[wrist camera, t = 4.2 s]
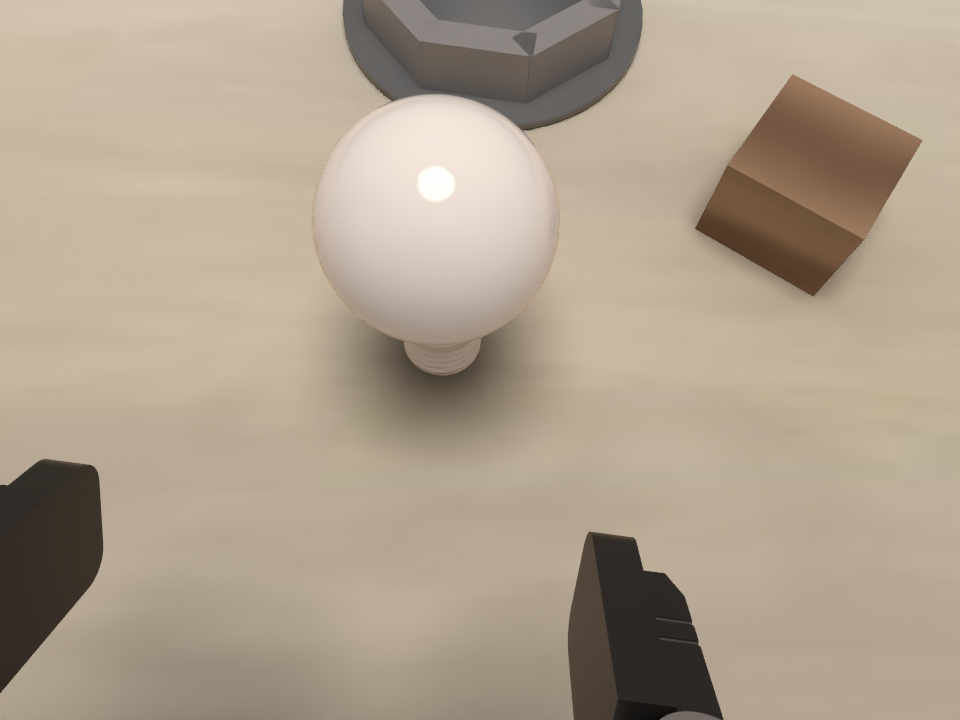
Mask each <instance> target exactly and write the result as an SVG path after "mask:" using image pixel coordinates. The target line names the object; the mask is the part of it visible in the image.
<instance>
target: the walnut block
mask: <svg viewBox="0 0 960 720" xmlns="http://www.w3.org/2000/svg"><path fill="white" fill-rule="evenodd" d="M921 142H922V140H921V139H919V138H917V137H915V136H913V135H911V134H909V133H907V132H905V131H903V130H901V129H899V128H897V127H895V126H893V125H891V124H890V123H888V122H886V121H884V120H882V119H880V118H878V117H876V116H874V115H872V114H870V113H868V112H866V111H864V110H862V109H860V108H858V107H856V106H854V105H852V104H850V103H848V102H846V101H844V100H842V99H840V98H838V97H836V96H834V95H832V94H830V93H828V92H826V91H824V90H822V89H820V88H818V87H816V86H814V85H812V84H810V83H808V82H806V81H805V80H803V79H801V78H799V77H797V76H795V75H793V74H792V76H791V77H790V78H789V80H788V81H787V83H786V84H785V85H784V87H783V88H782V90H781V91H780V92H779V94H778V95H777V97H776V98H775V99H774V101H773V102H772V104H771V105H770V106H769V108H768V109H767V111H766V112H765V113H764V115H763V116H762V118H761V119H760V121H759V122H758V123H757V125H756V126H755V128H754V129H753V130H752V132H751V133H750V135H749V136H748V137H747V139H746V140H745V142H744V143H743V144H742V146H741V147H740V149H739V150H738V151H737V153H736V154H735V156H734V157H733V158H732V160H731V161H730V163H729V164H728V165H727V167H726V169H725V171H724V173H723V175H722V177H721V179H720V181H719V183H718V185H717V187H716V189H715V191H714V193H713V195H712V197H711V199H710V201H709V203H708V205H707V207H706V209H705V211H704V213H703V215H702V217H701V219H700V221H699V222H698V224H697V226H696V228H695V229H697V230H698V231H700V232H702V233H704V234H705V235H707V236H709V237H711V238H712V239H714V240H716V241H718V242H719V243H721V244H723V245H725V246H726V247H728V248H730V249H732V250H733V251H735V252H737V253H739V254H740V255H742V256H744V257H746V258H747V259H749V260H751V261H753V262H754V263H756V264H758V265H760V266H761V267H763V268H765V269H767V270H768V271H770V272H772V273H774V274H775V275H777V276H779V277H780V278H782V279H784V280H786V281H787V282H789V283H791V284H793V285H794V286H796V287H798V288H800V289H801V290H803V291H805V292H807V293H808V294H810V295H812V296H814V295H815V294H816V293H817V291H818V290H819V289H820V288H821V287H822V286H823V285H824V284H825V283H826V281H827V280H828V279H829V278H830V277H831V276H832V275H833V274H834V272H835V271H836V270H837V269H838V268H839V267H840V266H841V265H842V264H843V262H844V261H845V260H846V259H847V258H848V257H849V256H850V255H851V253H852V252H853V251H854V250H855V249H856V248H857V247H858V246H859V245H860V243H861V242H862V241H863V240H864V239H865V237H866V235H867V234H868V232H869V230H870V229H871V227H872V225H873V223H874V222H875V220H876V218H877V217H878V215H879V213H880V212H881V210H882V208H883V207H884V205H885V203H886V201H887V200H888V198H889V196H890V195H891V193H892V191H893V190H894V188H895V186H896V184H897V183H898V181H899V179H900V178H901V176H902V174H903V173H904V171H905V169H906V168H907V166H908V164H909V162H910V161H911V159H912V157H913V156H914V154H915V152H916V151H917V149H918V147H919V146H920V144H921Z"/></svg>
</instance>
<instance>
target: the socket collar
mask: <svg viewBox="0 0 960 720" xmlns="http://www.w3.org/2000/svg"><path fill="white" fill-rule="evenodd" d="M343 17H344V25H345V31H346V37H347V40H348V43H349V46H350V50H351V52H352V54H353V56H354V58H355V60H356V62H357V64H358V66H359V67H360V68H361V70H362V71H363V72H364V74H365V75H366V77H367V78H368V79H369V80H370V81H371V82H372V83H373V84H374V85H375V86H376V87H377V88H378V89H379V90H380V91H381V92H382V93H384V94H385V95H386V96H387V97H389V98H390V99H391V100H393V101H395V100H398V99H401V98H405V97H410V96H415V95H423V94H446V95H454V96H459V97H464V98H468V99H471V100H474V101H477V102H480V103H482V104H484V105H487V106H489V107H491V108H492V109H494V110H496V111H498V112H499V113H501V114H503V115H504V116H505V117H507V118H508V119H510V120H511V121H512V122H513V123H515V124H516V125H517V126H518V127H519V128H520V129H521V130H526V129H533V128H537V127H541V126H546V125H550V124H553V123H556V122H559V121H561V120H564V119H567V118H570V117H572V116H574V115H576V114H578V113H580V112H582V111H584V110H586V109H587V108H589V107H590V106H592V105H593V104H595V103H596V102H598V101H599V100H601V99H602V98H603V97H604V96H605V95H606V94H608V93H609V92H610V91H611V90H612V89H613V88H614V87H615V86H616V85H617V83H618V82H619V81H620V80H621V79H622V77H623V76H624V75H625V73H626V71H627V70H628V68H629V66H630V65H631V63H632V61H633V58H634V55H635V53H636V50H637V47H638V44H639V40H640V35H641V30H642V5H641V0H344V2H343Z"/></svg>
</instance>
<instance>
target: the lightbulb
mask: <svg viewBox="0 0 960 720" xmlns="http://www.w3.org/2000/svg"><path fill="white" fill-rule="evenodd" d="M559 228H560V213H559V203H558V197H557V192H556V188H555V185H554V182H553V179H552V176H551V173H550V171H549V169H548V166H547V164H546V162H545V160H544V159H543V157H542V155H541V154H540V152H539V151H538V149H537V148H536V146H535V145H534V143H533V142H532V141H531V140H530V138H529V137H528V136H527V135H526V134H525V133H524V132H523V131H522V130H521V129H520V128H519V127H518V126H517V125H516V124H515V123H513V122H512V121H511V120H510V119H508V118H507V117H505V116H504V115H503V114H501V113H499V112H498V111H496V110H494V109H492V108H491V107H489V106H487V105H484V104H482V103H480V102H477V101H474V100H471V99H468V98H464V97H459V96H454V95H446V94H423V95H415V96H410V97H405V98H401V99H398V100H395V101H392V102H390V103H387V104H385V105H383V106H381V107H379V108H377V109H375V110H373V111H371V112H370V113H368V114H367V115H365V116H364V117H362V118H361V119H360V120H359V121H357V122H356V123H355V124H354V125H353V126H352V127H350V128H349V129H348V130H347V131H346V133H345V134H344V135H343V136H342V137H341V138H340V139H339V141H338V142H337V143H336V145H335V146H334V148H333V149H332V151H331V152H330V154H329V156H328V157H327V159H326V161H325V163H324V165H323V167H322V170H321V172H320V175H319V178H318V181H317V184H316V188H315V192H314V197H313V204H312V233H313V240H314V245H315V249H316V253H317V256H318V259H319V262H320V265H321V267H322V270H323V272H324V274H325V276H326V278H327V280H328V282H329V283H330V285H331V287H332V288H333V290H334V291H335V293H336V294H337V295H338V297H339V298H340V299H341V301H342V302H343V303H344V304H345V305H346V306H347V307H348V308H349V309H350V310H351V311H352V312H353V313H354V314H355V315H356V316H358V317H359V318H360V319H361V320H362V321H364V322H365V323H367V324H368V325H370V326H371V327H373V328H374V329H376V330H378V331H380V332H382V333H384V334H386V335H388V336H391V337H393V338H396V339H399V340H402V341H403V342H404V348H405V351H406V354H407V356H408V358H409V359H410V360H411V362H412V363H413V364H414V365H415V366H416V367H418V368H419V369H420V370H422V371H424V372H426V373H429V374H433V375H439V376H445V375H452V374H455V373H458V372H460V371H462V370H464V369H465V368H467V367H468V366H469V365H470V364H471V363H472V362H473V361H474V360H475V358H476V357H477V355H478V353H479V350H480V345H481V337H483V336H486V335H488V334H490V333H492V332H494V331H496V330H498V329H499V328H501V327H503V326H504V325H506V324H507V323H508V322H510V321H511V320H512V319H514V318H515V317H516V316H517V315H518V314H519V313H520V312H522V311H523V310H524V308H525V307H526V306H527V305H528V304H529V303H530V302H531V301H532V299H533V298H534V297H535V295H536V294H537V293H538V291H539V290H540V288H541V286H542V285H543V283H544V281H545V279H546V277H547V275H548V273H549V271H550V268H551V266H552V263H553V260H554V257H555V253H556V249H557V244H558V239H559Z"/></svg>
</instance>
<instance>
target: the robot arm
mask: <svg viewBox="0 0 960 720" xmlns="http://www.w3.org/2000/svg"><path fill="white" fill-rule="evenodd" d="M102 555H103V534H102V517H101V501H100V485H99V476H98V472H97V470H96V469H95V467H93V466H92V465H86V464H79V463H71V462H64V461H56V460H49V459H43V460H40V461H38V462H37V463H35V464H34V465H33V466H32V467H30V468H29V469H28V470H27V471H26V472H24V473H23V474H22V475H21V476H19V477H18V478H17V479H16V480H14V481H13V482H12V483H11V484H9V485H8V486H7V485H0V693H1V692H2V690H3V689H4V688H5V687H6V686H7V684H8V683H9V682H10V681H11V680H12V679H13V677H14V676H15V675H16V674H17V673H18V671H19V670H20V669H21V668H22V667H23V665H24V664H25V663H26V662H27V661H28V660H29V658H30V657H31V656H32V655H33V654H34V652H35V651H36V650H37V649H38V648H39V646H40V645H41V644H42V643H43V642H44V640H45V639H46V638H47V637H48V636H49V635H50V633H51V632H52V631H53V630H54V629H55V627H56V626H57V625H58V624H59V623H60V621H61V620H62V619H63V618H64V617H65V616H66V614H67V613H68V612H69V611H70V610H71V608H72V607H73V606H74V605H75V604H76V602H77V601H78V600H79V599H80V598H81V597H82V595H83V594H84V593H85V592H86V591H87V589H88V588H89V587H90V586H91V584H92V583H93V581H94V579H95V577H96V575H97V573H98V570H99V567H100V564H101V560H102ZM568 654H569V666H570V678H571V690H572V701H573V713H574V720H723V716H722V713H721V710H720V707H719V704H718V701H717V697H716V694H715V691H714V688H713V685H712V682H711V679H710V675H709V672H708V669H707V666H706V663H705V660H704V656H703V653H702V650H701V647H700V646H698V637H697V634H696V631H695V628H694V626H693V625H692V619H691V615H690V612H689V609H688V606H687V603H686V600H685V596H684V595H683V594H682V593H681V592H680V591H679V589H678V588H677V587H676V586H675V585H674V584H673V582H672V581H671V580H670V579H669V578H668V577H667V575H666V574H665V573H658V572H650V571H643V567H642V563H641V559H640V555H639V551H638V547H637V543H636V540H635V538H633V537H625V536H618V535H610V534H603V533H596V532H589V533H588V534H587V537H586V540H585V544H584V548H583V553H582V558H581V563H580V568H579V572H578V577H577V582H576V587H575V592H574V597H573V601H572V606H571V612H570V619H569V629H568Z"/></svg>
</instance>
